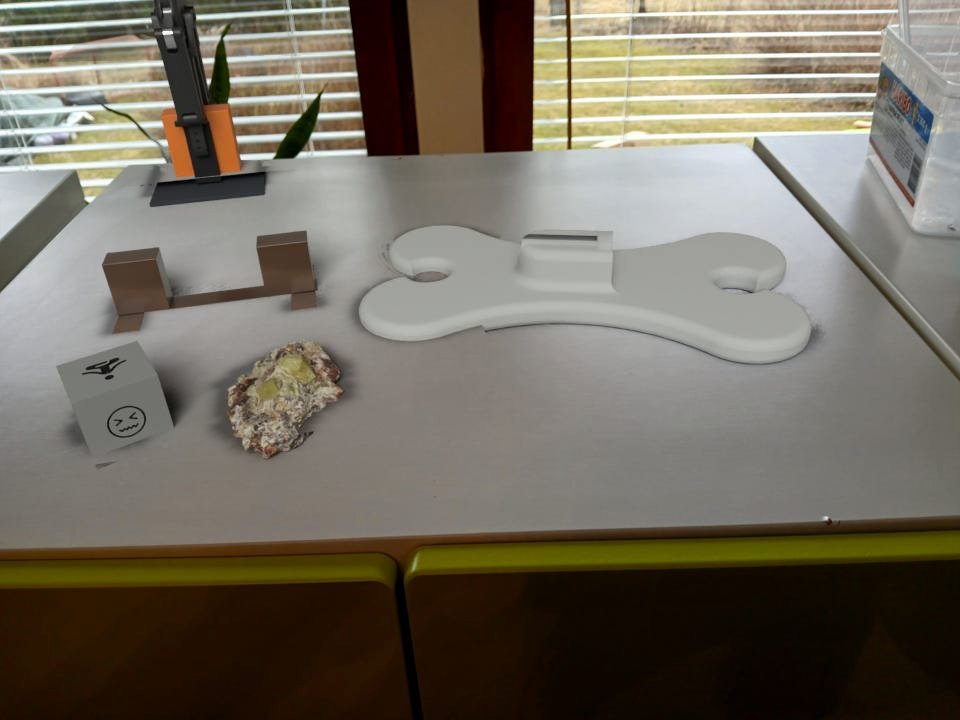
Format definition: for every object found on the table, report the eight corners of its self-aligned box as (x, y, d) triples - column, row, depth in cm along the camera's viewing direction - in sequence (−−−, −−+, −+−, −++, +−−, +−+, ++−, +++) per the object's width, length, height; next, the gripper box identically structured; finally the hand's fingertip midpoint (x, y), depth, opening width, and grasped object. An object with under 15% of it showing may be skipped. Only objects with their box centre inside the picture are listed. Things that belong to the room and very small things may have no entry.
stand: (129, 297, 68) (110, 238, 65) (317, 274, 70) (308, 216, 67) (112, 345, 61) (91, 282, 58) (321, 318, 64) (310, 256, 61)
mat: (163, 169, 95) (163, 166, 95) (266, 159, 97) (265, 156, 96) (150, 206, 85) (149, 203, 85) (264, 194, 87) (263, 191, 87)
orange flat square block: (179, 170, 91) (163, 108, 87) (241, 164, 92) (229, 103, 88) (176, 178, 88) (160, 116, 85) (240, 172, 90) (228, 109, 86)
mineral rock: (236, 338, 57) (338, 313, 55) (264, 385, 59) (362, 362, 57) (181, 437, 48) (299, 411, 46) (215, 487, 50) (329, 464, 49)
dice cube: (157, 402, 55) (137, 340, 52) (177, 438, 51) (157, 375, 48) (80, 428, 53) (55, 366, 50) (96, 469, 49) (71, 404, 46)
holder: (402, 240, 75) (397, 191, 73) (773, 251, 71) (783, 198, 68) (347, 348, 60) (338, 290, 57) (819, 371, 55) (835, 308, 52)
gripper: (189, -49, 72) (241, 197, 84) (203, -65, 85) (246, 150, 98) (102, -44, 70) (168, 205, 83) (130, -61, 83) (183, 156, 96)
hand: (210, 175), depth 90 cm, fingers closed on orange flat square block, 3 cm apart
